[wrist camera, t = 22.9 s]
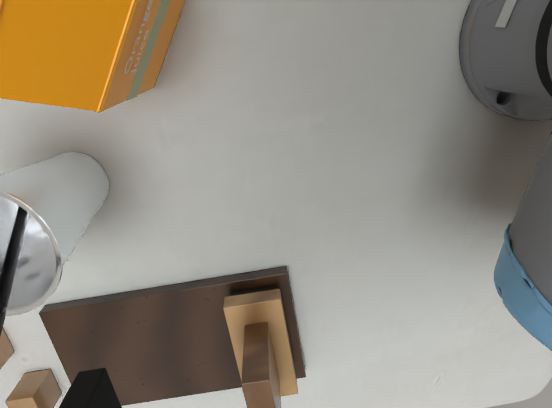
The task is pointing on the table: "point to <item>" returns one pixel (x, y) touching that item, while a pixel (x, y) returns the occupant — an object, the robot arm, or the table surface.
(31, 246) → the metal cup with straw
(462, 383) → the table surface
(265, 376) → the tan slab with handle
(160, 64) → the orange juice
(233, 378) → the board
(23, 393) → the tan blocky piece
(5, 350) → the tan boxy piece
